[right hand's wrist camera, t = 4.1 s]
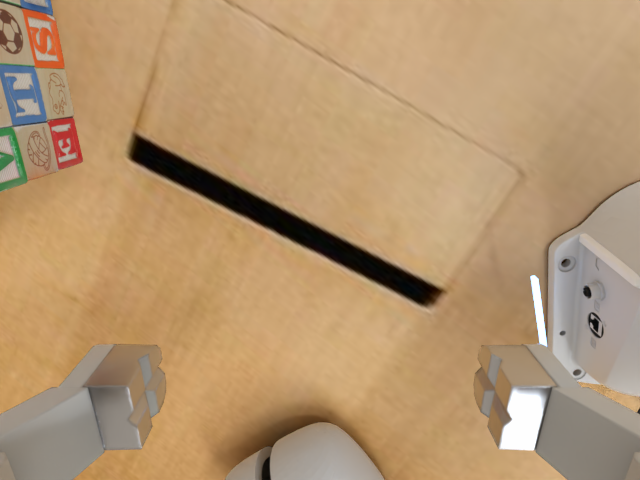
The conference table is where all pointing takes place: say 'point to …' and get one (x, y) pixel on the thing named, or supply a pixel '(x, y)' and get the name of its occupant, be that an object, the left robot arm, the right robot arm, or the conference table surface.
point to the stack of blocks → (33, 96)
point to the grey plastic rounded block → (309, 458)
